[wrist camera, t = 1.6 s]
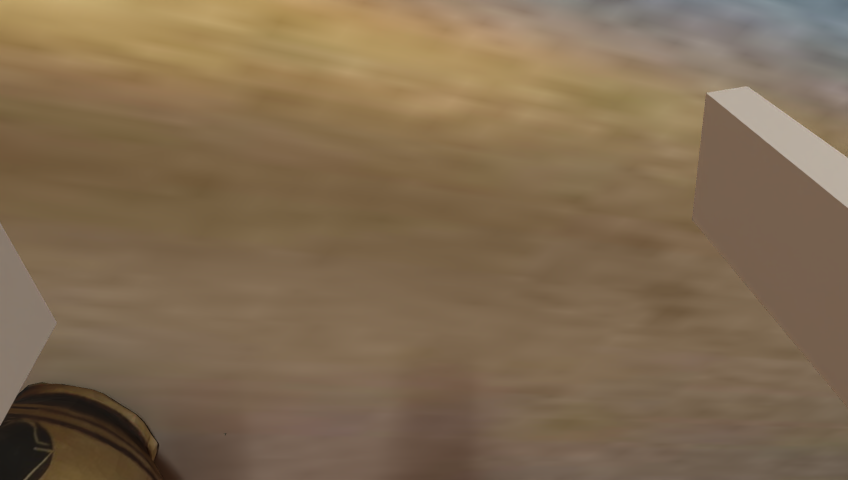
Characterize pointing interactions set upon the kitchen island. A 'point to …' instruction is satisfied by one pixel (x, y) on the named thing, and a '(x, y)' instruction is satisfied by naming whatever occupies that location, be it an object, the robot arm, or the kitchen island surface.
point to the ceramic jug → (74, 437)
